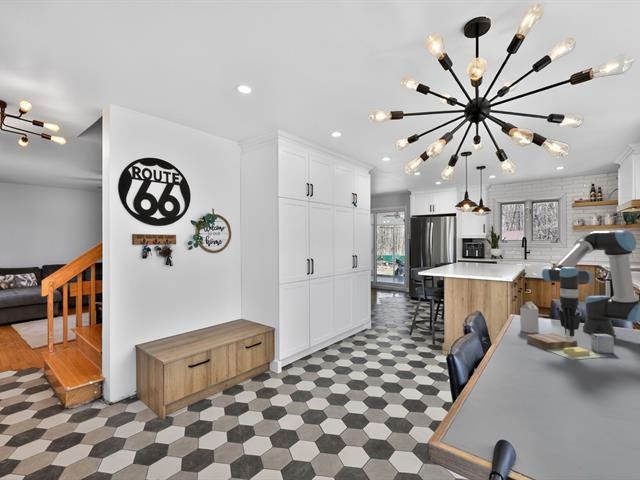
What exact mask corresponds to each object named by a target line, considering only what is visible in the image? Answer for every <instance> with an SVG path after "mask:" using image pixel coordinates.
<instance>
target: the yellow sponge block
mask: <svg viewBox="0 0 640 480" xmlns="http://www.w3.org/2000/svg"><path fill="white" fill-rule="evenodd" d="M590 351H591V350H589V349H585V348H582V347H580V346H577V347H571V348H563V352H565V353H568V354H570V355H573V356H581V355H590Z"/></svg>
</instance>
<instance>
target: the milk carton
mask: <svg viewBox="0 0 640 480" xmlns="http://www.w3.org/2000/svg"><path fill="white" fill-rule="evenodd" d="M519 309H520V312H519V315H520V320H519V321H520V331H521V332H525V333H530V334H536V333H539V332H540V331H539V324H540V323H539V307H537V306H536V305H535V304H534V303H533V301H527V302H526V301H525V304H523V305H522V306H521V307H519Z"/></svg>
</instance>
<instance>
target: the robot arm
mask: <svg viewBox="0 0 640 480" xmlns="http://www.w3.org/2000/svg"><path fill="white" fill-rule="evenodd" d="M636 248H637V239H636V237H635V235H634V234H633V233H632V232H631V231H630V230H627V229H626V230H624V229H623V230H622V229H617V230H615V229H613V230H595V231H591V232H589V233H586V234H585V235H583V236H581V237H580V238H578V239H577V240H576V241H574V244H573V247H571V248H570V249H569V250H568V251H567V252H566V253H565V254H564V255H563V256H562V257H561V258H560V259H559V260H558V261H557V262H556V263H555V264H554V265H553V266H552V267H545V268H544V269H542V272H541V276H542V279H543V280H544V281H546V282H547V281H548V282H555V283H556V282H557V283H559V295H560V296H559V302H560V306H559V307H556V311H557V313H558V318H559V323H560V326H561V327H563V328H564V335H566V336H565V337H566V342H573V339H574V337H575V330H579V327H580V323H581V319H582V316H583V315H584V312H582V311H580V310H579V308H578V306H579V285H587V284H590V283H592V281H593V280H594V274H593V273H592V272H591V271H589V270H586V269H579V270H578V268H577V267H575V266H576V265H577V264H578V263H580V262H581V260H582V259H583V258H584V257H586V256H587V255H588V254H591V253H592V252H594V251H603V252H604V255H605V256H606V257H608V261H609V268H610V276H611V282H612V283H611V284H612V290H613V296H609V295H589V296H588V295H587V296H586V298H585V316H586V317H585V320H584V323H583V326H582V332H583V333H587V334H590V335H591V334H608V335H611V336H613V337H614V336H615V335H616V331H615V329H614V327H613V324H612V319H613V320H619V321H624V322H628V323H639V322H640V299H639V297H637V296H636V295H635V291H634V283H633V276H632V270H631V269H632V268H631V262H630V261H631V259H630V255H632V254H633V251H635V250H636Z"/></svg>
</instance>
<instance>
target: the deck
mask: <svg viewBox="0 0 640 480" xmlns="http://www.w3.org/2000/svg"><path fill="white" fill-rule="evenodd" d="M526 342H527V343H529V344H531V345H534V346H536V347H539V348H542V349H545V350H546V351H547V350H550V349H563V348H571V347H578V340H577V339H574V338H573V342H566V336H564V335H560V334H557V333H556V332H555V333H553V332H552V333H551V332H550V333H538V334H536V333H534V334H527V335H526Z"/></svg>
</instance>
